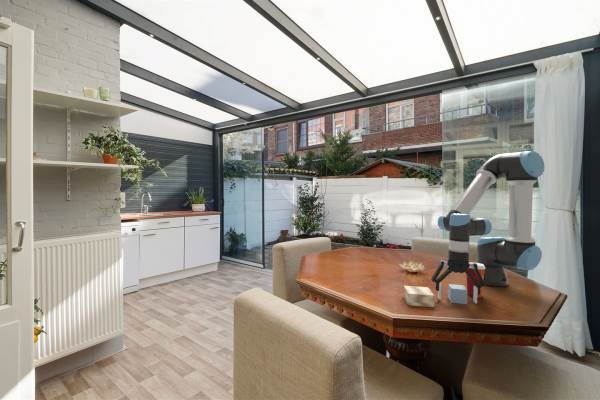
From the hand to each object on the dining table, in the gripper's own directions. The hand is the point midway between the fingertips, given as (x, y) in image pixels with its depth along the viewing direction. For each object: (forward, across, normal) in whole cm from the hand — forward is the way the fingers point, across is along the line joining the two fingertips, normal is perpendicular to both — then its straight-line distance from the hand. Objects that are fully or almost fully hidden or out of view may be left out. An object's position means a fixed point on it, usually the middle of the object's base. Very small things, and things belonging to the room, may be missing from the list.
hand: (456, 300), depth 125 cm
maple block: (0, +16, +6) cm, 17 cm away
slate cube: (0, 0, 0) cm, 0 cm away
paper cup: (0, -9, -10) cm, 14 cm away
